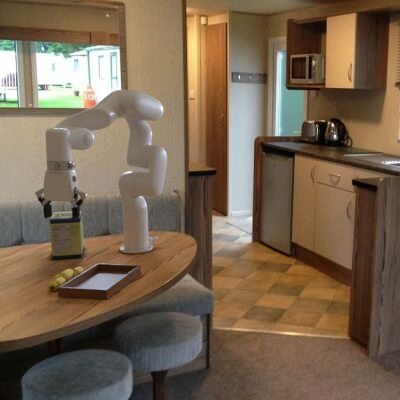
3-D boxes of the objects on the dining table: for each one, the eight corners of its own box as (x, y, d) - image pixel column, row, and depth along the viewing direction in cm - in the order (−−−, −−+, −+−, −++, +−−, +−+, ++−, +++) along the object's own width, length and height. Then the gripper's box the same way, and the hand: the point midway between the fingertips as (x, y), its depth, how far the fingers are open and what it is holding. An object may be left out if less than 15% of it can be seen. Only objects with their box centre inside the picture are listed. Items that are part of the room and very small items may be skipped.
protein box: (84, 247, 226) (82, 209, 223) (82, 258, 212) (80, 218, 209) (55, 249, 222) (53, 211, 219) (52, 260, 208) (49, 219, 205)
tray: (98, 271, 197) (97, 263, 196) (141, 273, 195) (140, 265, 195) (58, 296, 172) (57, 287, 171) (107, 299, 170) (106, 290, 170)
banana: (73, 271, 194) (75, 261, 193) (84, 275, 194) (87, 265, 193) (40, 290, 175) (42, 279, 174) (53, 294, 175) (55, 284, 174)
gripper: (91, 166, 184) (92, 217, 187) (41, 164, 186) (44, 214, 189) (78, 168, 177) (80, 221, 180) (27, 166, 179) (30, 218, 182)
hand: (62, 218), depth 184 cm, fingers open, 9 cm apart
